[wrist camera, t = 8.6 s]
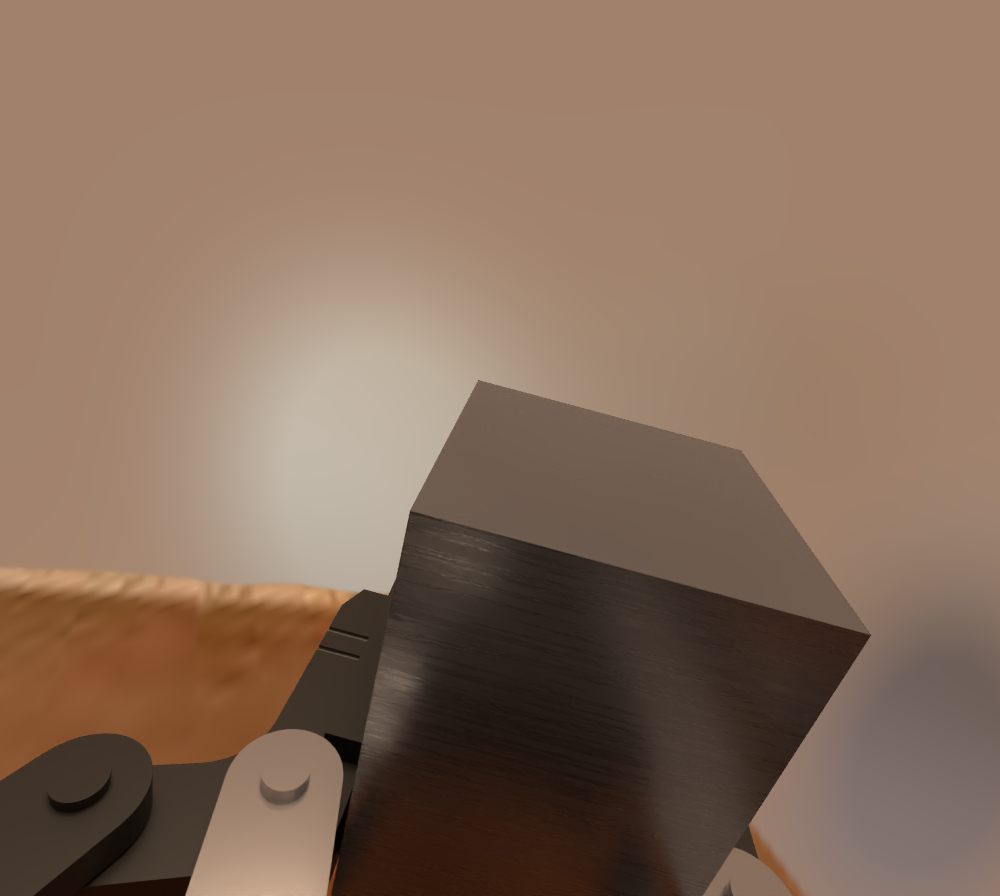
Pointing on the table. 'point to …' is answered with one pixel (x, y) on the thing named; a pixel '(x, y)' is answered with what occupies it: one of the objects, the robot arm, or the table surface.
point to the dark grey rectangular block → (585, 663)
